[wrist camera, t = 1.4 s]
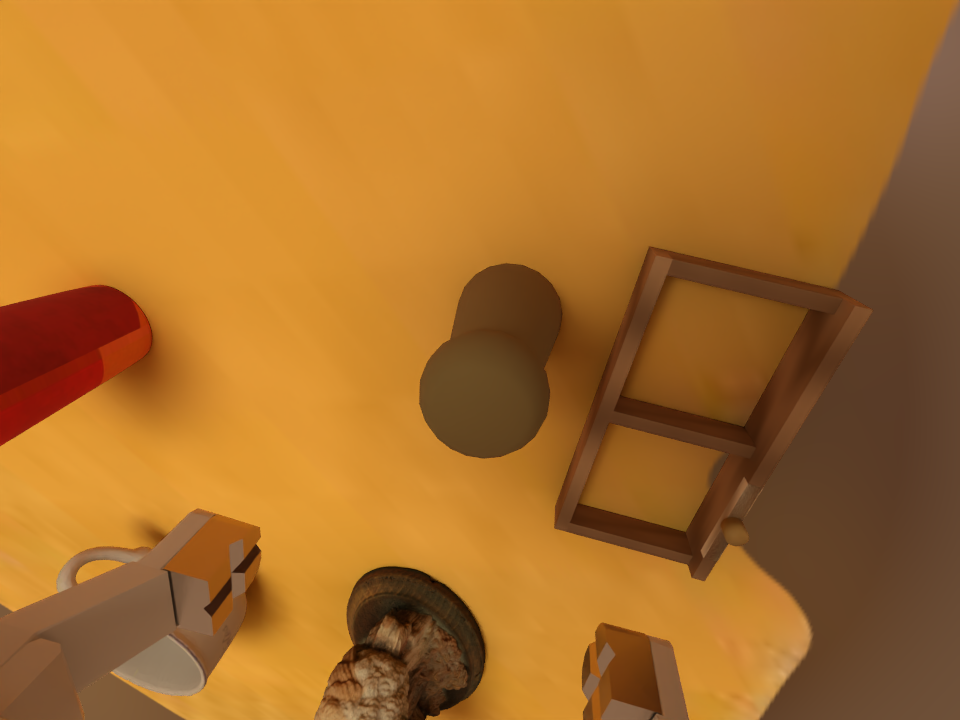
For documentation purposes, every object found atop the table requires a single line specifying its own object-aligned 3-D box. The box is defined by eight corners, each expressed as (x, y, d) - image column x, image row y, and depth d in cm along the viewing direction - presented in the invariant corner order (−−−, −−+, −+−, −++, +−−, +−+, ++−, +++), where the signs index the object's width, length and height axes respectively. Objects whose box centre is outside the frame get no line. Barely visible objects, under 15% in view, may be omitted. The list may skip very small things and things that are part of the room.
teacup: (286, 601, 42) (230, 696, 35) (202, 619, 46) (135, 708, 38) (189, 485, 38) (101, 566, 30) (104, 514, 41) (8, 594, 34)
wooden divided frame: (649, 246, 24) (664, 265, 20) (842, 291, 23) (892, 318, 20) (555, 506, 32) (553, 552, 29) (695, 544, 32) (712, 596, 28)
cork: (562, 362, 28) (561, 486, 18) (463, 362, 29) (410, 479, 19) (561, 260, 25) (559, 340, 15) (452, 265, 26) (385, 342, 16)
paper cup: (42, 270, 31) (-311, 361, 18) (141, 266, 30) (-169, 360, 17) (92, 375, 34) (-179, 512, 22) (183, 376, 33) (-50, 522, 20)
